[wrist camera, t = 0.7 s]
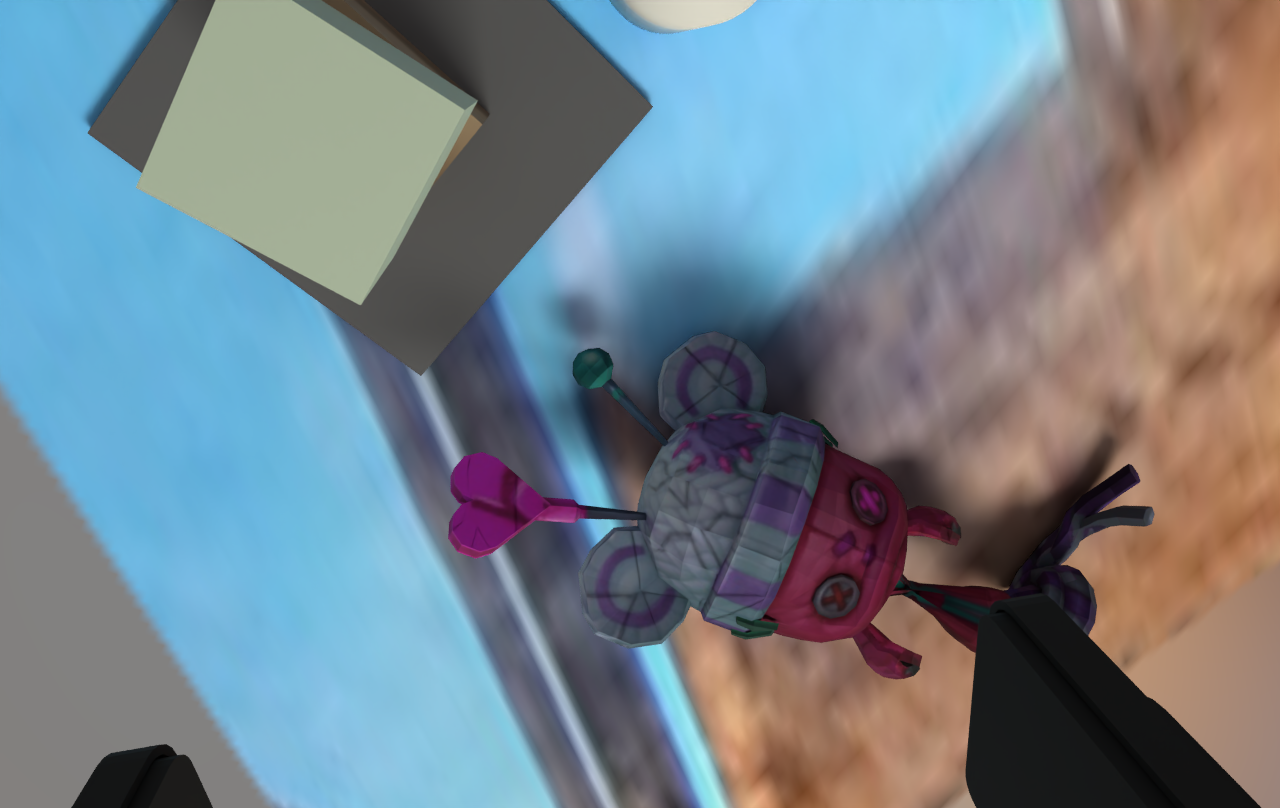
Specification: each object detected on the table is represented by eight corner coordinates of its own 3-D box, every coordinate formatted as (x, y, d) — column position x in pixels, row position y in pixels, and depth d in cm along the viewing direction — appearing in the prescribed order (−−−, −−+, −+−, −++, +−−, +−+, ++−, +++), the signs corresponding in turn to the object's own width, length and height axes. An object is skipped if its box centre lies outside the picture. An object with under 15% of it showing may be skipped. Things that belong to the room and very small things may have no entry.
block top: (299, -14, 22) (231, -38, 17) (477, 100, 24) (464, 109, 19) (219, 161, 23) (135, 187, 18) (393, 257, 25) (360, 305, 20)
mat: (330, -216, 25) (327, -220, 25) (651, 105, 30) (652, 106, 30) (92, 132, 28) (87, 133, 27) (422, 372, 33) (421, 375, 32)
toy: (1050, 467, 43) (557, 207, 35) (1225, 471, 35) (620, 125, 26) (963, 761, 40) (402, 553, 32) (1129, 848, 32) (415, 592, 23)
